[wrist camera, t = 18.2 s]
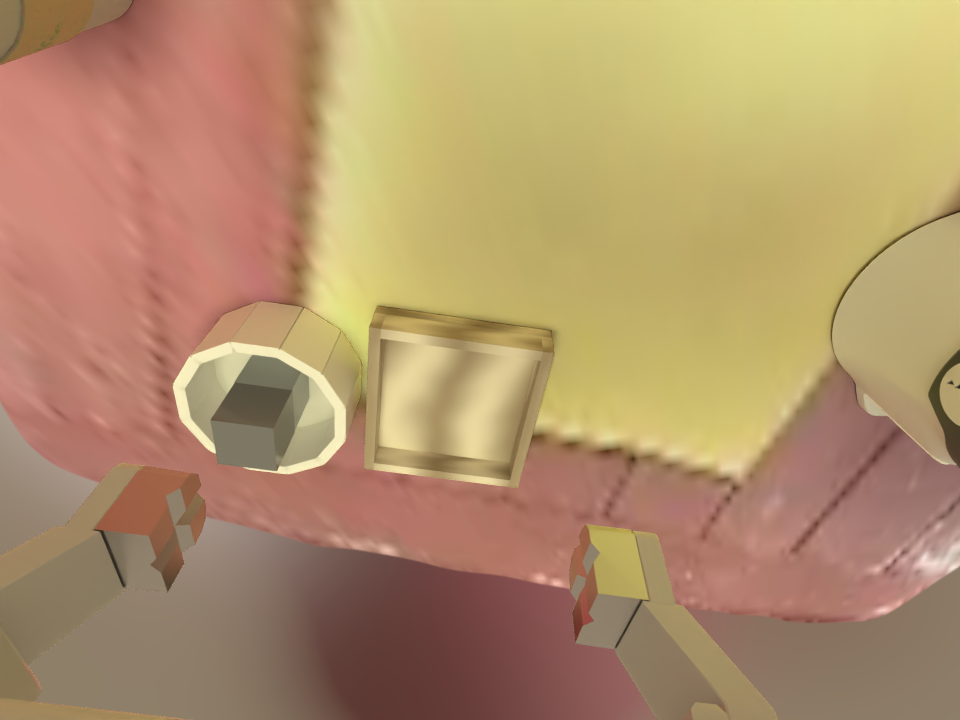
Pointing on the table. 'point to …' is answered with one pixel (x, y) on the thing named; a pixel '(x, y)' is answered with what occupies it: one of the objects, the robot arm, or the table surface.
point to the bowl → (296, 344)
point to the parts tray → (453, 395)
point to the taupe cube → (277, 379)
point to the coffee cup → (50, 22)
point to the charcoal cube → (253, 426)
